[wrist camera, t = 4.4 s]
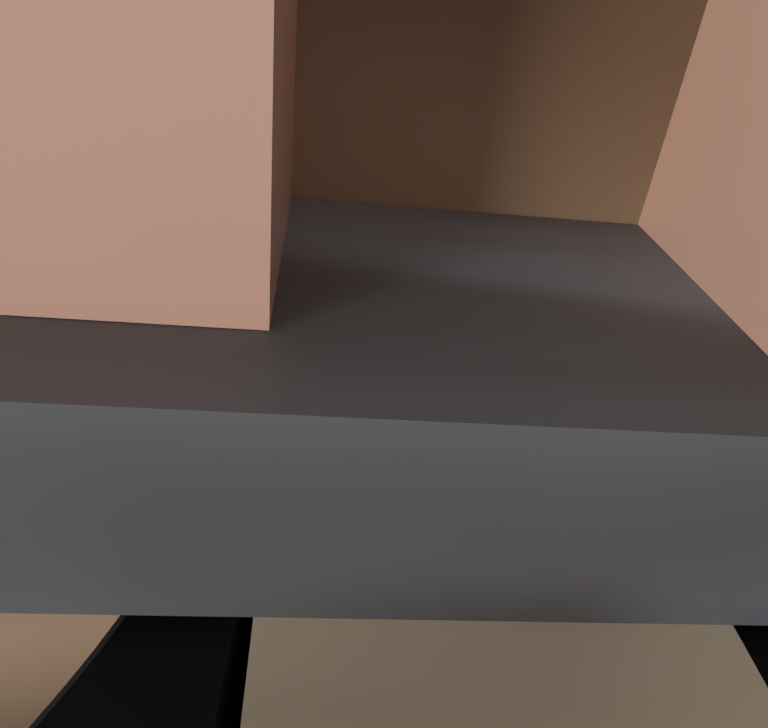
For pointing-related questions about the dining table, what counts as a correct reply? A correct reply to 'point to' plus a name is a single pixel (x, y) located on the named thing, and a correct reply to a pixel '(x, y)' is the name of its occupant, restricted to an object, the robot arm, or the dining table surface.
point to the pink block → (720, 166)
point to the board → (445, 157)
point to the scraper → (416, 477)
